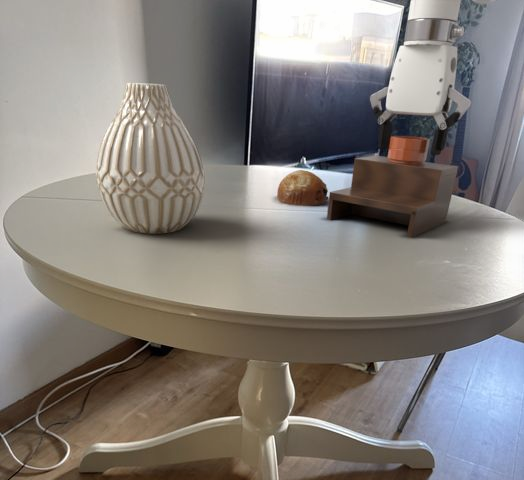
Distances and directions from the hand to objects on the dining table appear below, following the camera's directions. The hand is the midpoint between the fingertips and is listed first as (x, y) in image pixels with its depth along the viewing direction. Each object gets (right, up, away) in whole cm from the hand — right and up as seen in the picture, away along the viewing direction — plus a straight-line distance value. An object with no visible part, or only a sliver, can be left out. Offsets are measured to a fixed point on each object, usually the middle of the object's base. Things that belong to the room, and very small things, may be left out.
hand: (408, 151), depth 84 cm
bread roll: (-18, -5, +15) cm, 23 cm away
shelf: (-3, -12, +3) cm, 12 cm away
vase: (-43, -16, -8) cm, 47 cm away
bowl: (0, -2, +1) cm, 2 cm away
